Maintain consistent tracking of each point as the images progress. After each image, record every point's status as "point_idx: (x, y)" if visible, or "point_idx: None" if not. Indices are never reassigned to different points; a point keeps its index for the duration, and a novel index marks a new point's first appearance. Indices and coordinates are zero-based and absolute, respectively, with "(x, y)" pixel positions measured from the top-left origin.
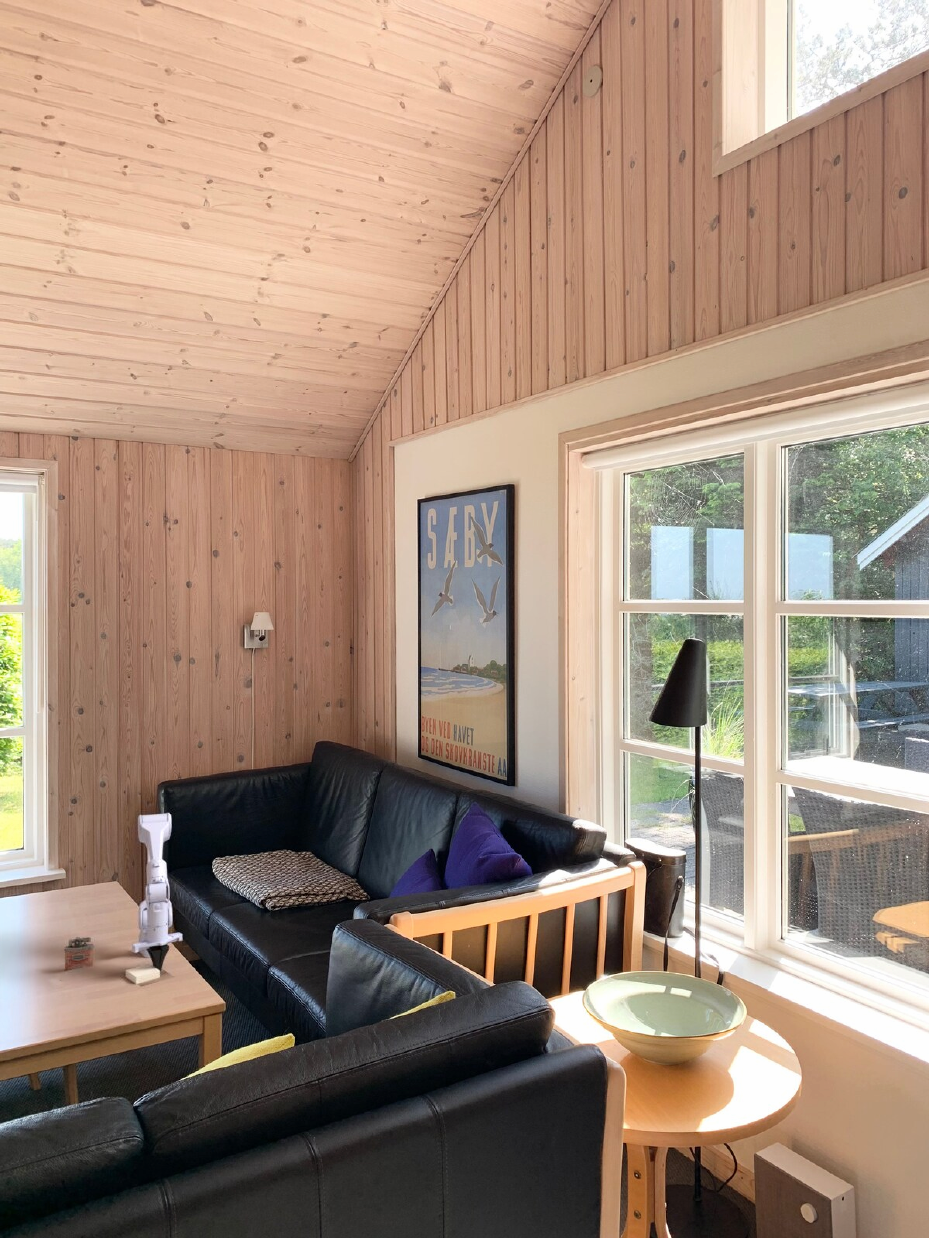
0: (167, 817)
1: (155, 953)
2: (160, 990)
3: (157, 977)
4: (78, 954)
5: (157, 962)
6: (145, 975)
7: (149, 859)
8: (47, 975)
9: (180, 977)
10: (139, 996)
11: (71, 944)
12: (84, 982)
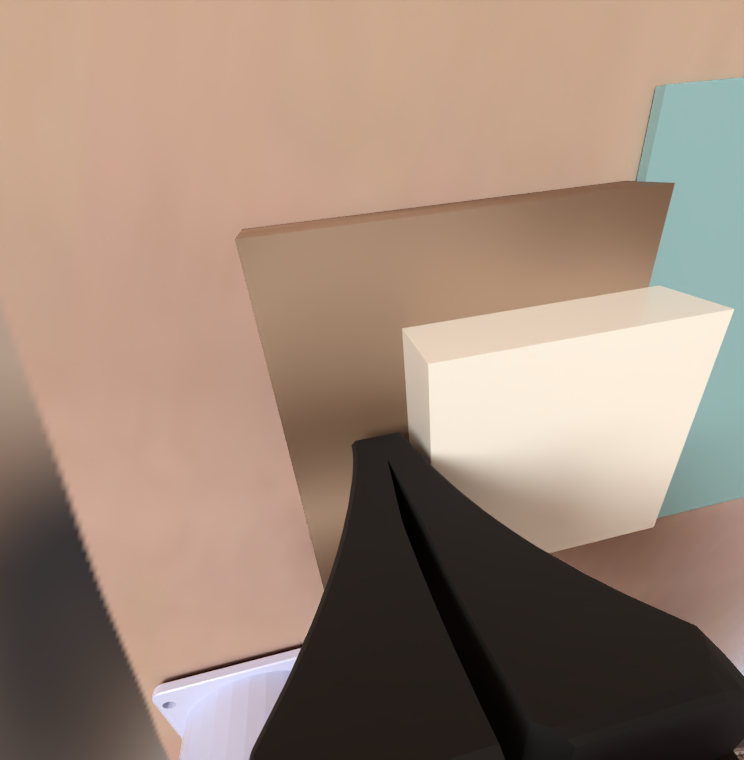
0: None
1: (649, 626)
2: (475, 50)
3: (430, 326)
4: (736, 753)
5: (450, 496)
6: (611, 324)
7: None
8: (724, 645)
9: (150, 321)
10: (718, 40)
11: None
12: (709, 542)
